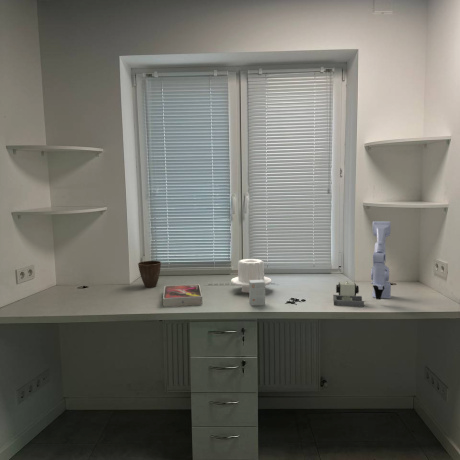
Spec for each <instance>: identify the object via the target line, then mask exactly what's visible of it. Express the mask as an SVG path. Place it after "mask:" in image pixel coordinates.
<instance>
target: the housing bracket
mask: <svg viewBox="0 0 460 460" xmlns="http://www.w3.org/2000/svg"><path fill="white" fill-rule="evenodd" d="M332 296H333V297H332V299H333V300H332V301H333V305H334V306H340V307H342V306H345V307H359V308H361V307H362V308H364V307H365V301H363V296H362V295H356V296H350V298H352V301H346V300H342V297H343V296H342V295H339V294H333V295H332ZM343 298H344V297H343Z"/></svg>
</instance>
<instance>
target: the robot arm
mask: <svg viewBox="0 0 460 460" xmlns="http://www.w3.org/2000/svg"><path fill="white" fill-rule="evenodd" d="M391 226H392V222H391V221H390V220H386V221H383V220H382V221H381V220H380V221H378V220H376V221H375V220H374V221H372V234H373V236H374V237H376V242H375V243H374V250H373V253H372V265H373V266H372V267H371V270H370V271H371V272H370V280H371V282H370V284H371V285H372V292H371V296H372V298H373V299H374V298H375V299H376V300H381V299H391V298H392V297H391V293H392V292H391V290H392V287H391V282H390V268H389V267H388V266H387V265H386V262H387V253H386V252H387V251H386V248H387V245H386V239H387V238H388V237H390V236H391V228H392V227H391Z"/></svg>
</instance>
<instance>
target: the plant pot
mask: <svg viewBox="0 0 460 460" xmlns="http://www.w3.org/2000/svg"><path fill="white" fill-rule="evenodd" d="M137 266H138V270H139V274H140V277H141V281H142V283H143V285H144V287H145V288H148V289H149V288H150V289H152V288H156V287H157V285H158V282H159V279H160V275H161V268H162V267H161V266H162V261H160V260H145V261H140V262H138V263H137Z"/></svg>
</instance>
